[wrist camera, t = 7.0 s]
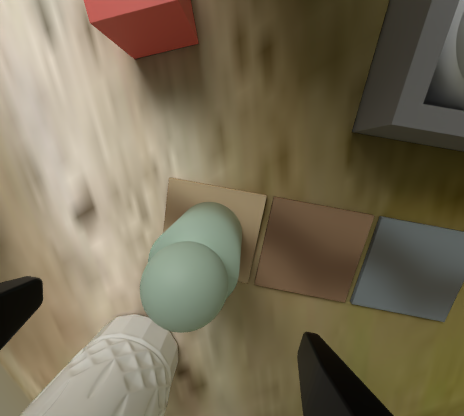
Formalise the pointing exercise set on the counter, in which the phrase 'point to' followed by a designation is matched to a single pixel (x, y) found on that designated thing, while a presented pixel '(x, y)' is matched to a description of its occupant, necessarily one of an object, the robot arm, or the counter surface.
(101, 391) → the white cup
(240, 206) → the game track
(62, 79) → the counter surface
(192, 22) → the red die
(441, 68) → the dome
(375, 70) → the grey square tray
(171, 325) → the pawn
